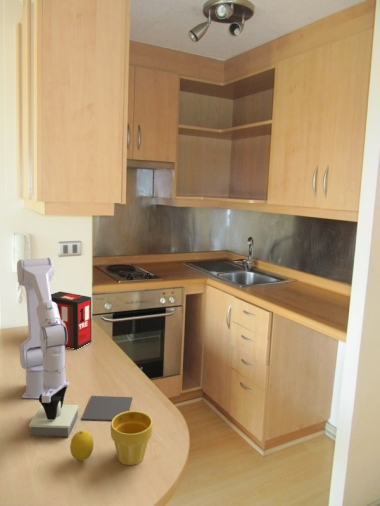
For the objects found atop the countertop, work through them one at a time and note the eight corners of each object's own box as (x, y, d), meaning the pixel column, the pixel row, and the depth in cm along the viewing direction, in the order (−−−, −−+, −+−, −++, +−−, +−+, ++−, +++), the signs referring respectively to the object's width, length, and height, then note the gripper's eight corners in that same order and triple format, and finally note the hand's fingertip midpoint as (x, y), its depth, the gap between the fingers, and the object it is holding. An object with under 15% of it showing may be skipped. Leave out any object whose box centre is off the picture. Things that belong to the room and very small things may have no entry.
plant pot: (153, 469, 103) (154, 432, 101) (110, 472, 101) (110, 435, 99) (150, 442, 113) (151, 409, 111) (111, 445, 111) (111, 411, 109)
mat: (91, 396, 135) (91, 395, 135) (132, 398, 135) (132, 397, 135) (81, 419, 122) (81, 418, 122) (126, 421, 122) (126, 420, 122)
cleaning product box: (46, 342, 177) (45, 296, 173) (60, 335, 185) (59, 291, 181) (77, 350, 170) (77, 302, 167) (91, 342, 178) (91, 297, 175)
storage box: (43, 415, 123) (43, 406, 123) (77, 416, 123) (77, 407, 123) (30, 436, 114) (30, 426, 113) (68, 437, 114) (67, 427, 113)
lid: (42, 408, 123) (42, 393, 122) (78, 409, 123) (78, 394, 123) (29, 429, 113) (28, 413, 112) (68, 430, 113) (68, 414, 112)
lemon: (95, 453, 108) (95, 424, 106) (90, 468, 102) (90, 438, 101) (73, 453, 107) (73, 424, 106) (67, 467, 102) (67, 437, 101)
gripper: (60, 380, 108) (61, 428, 111) (75, 356, 123) (76, 400, 125) (33, 379, 108) (34, 427, 111) (51, 356, 123) (52, 399, 125)
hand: (54, 413), depth 118 cm, fingers open, 5 cm apart
